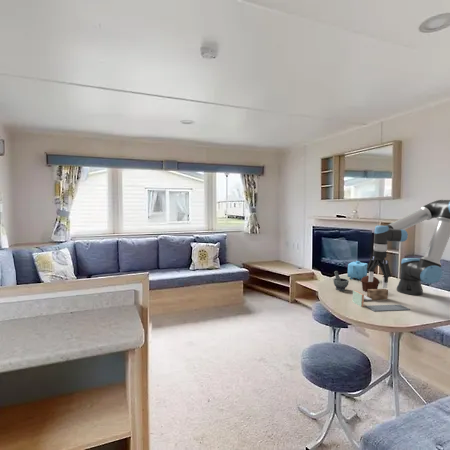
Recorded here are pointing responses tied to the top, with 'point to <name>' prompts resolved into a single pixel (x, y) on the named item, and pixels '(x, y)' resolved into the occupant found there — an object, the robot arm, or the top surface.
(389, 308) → the tool mat
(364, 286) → the muffin
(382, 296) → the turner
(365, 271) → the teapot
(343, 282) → the mortar and pestle
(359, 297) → the tile
